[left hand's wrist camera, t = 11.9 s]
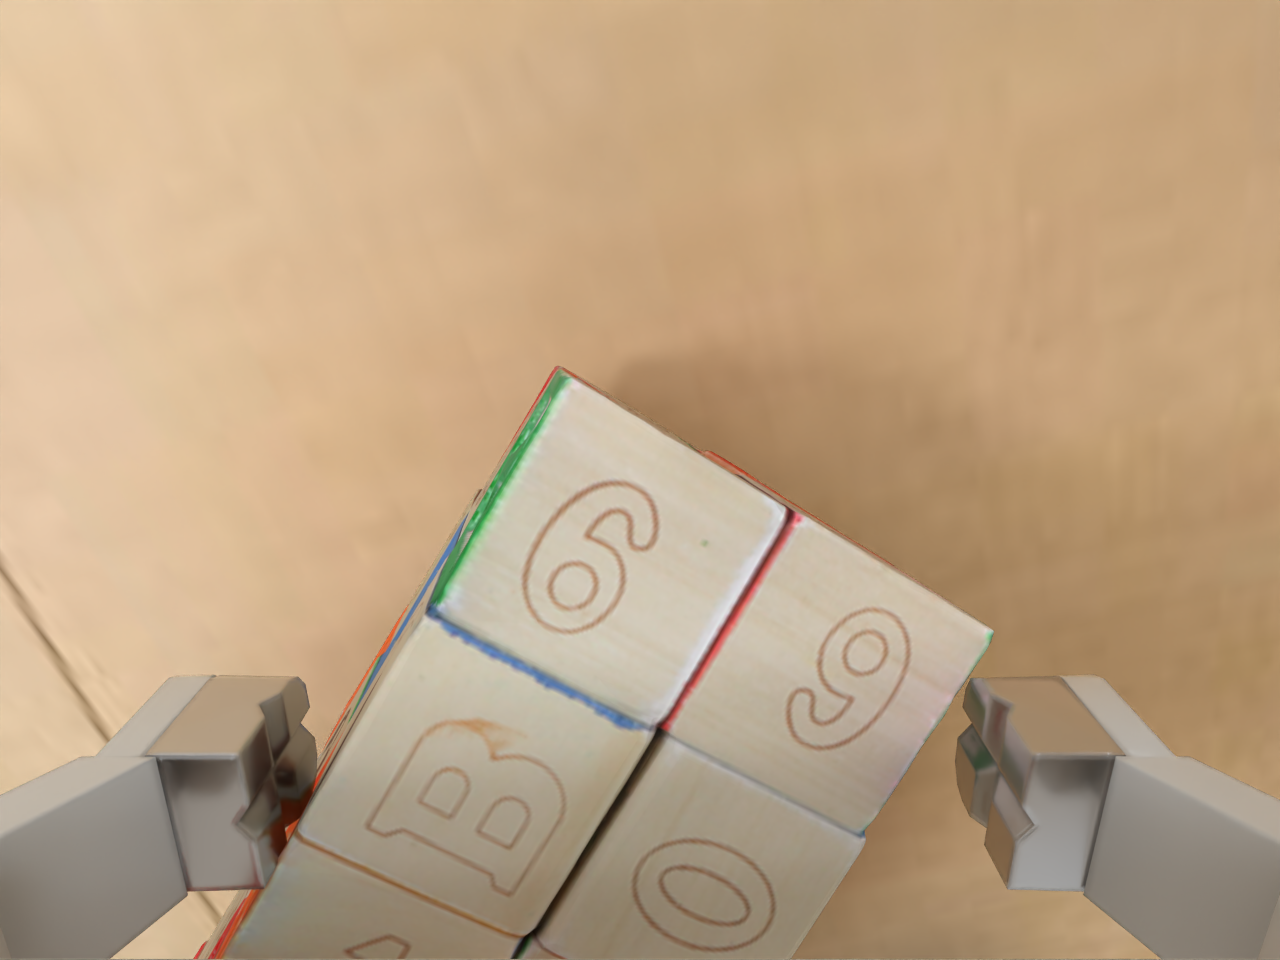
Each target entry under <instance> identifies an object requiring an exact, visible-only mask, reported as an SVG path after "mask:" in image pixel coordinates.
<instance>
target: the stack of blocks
mask: <svg viewBox="0 0 1280 960" xmlns="http://www.w3.org/2000/svg"><path fill="white" fill-rule="evenodd" d="M993 633H994V631H993V630H992V629H991V628H989V627H988V626H986V625H985V624H984V623H982V622H981V621H979V620H977V619H976V618H974V617H973V616H971V615H970V614H968V613H966V612H965V611H963V610H962V609H960V608H958V607H957V606H955V605H954V604H952V603H951V602H949V601H947V600H946V599H944V598H943V597H941V596H940V595H938V594H936V593H935V592H933V591H932V590H930V589H928V588H927V587H925V586H924V585H922V584H921V583H919V582H918V581H916V580H915V579H913V578H912V577H910V576H909V575H907V574H905V573H904V572H902V571H900V570H899V569H897V568H896V567H894V565H892V564H891V563H889V562H887V561H886V560H884V559H882V558H881V557H879V556H878V555H876V554H874V553H873V552H871V551H869V550H868V549H866V548H865V547H863V546H861V545H860V544H858V543H856V542H855V541H853V540H851V539H850V538H848V537H846V536H845V535H843V534H841V533H840V532H838V531H837V530H835V529H834V528H832V527H831V526H829V525H828V524H826V523H824V522H823V521H821V520H820V519H818V518H816V517H815V516H813V515H812V514H810V513H808V512H807V511H805V510H803V509H802V508H800V507H799V506H797V505H795V504H794V503H792V502H790V501H789V500H787V499H786V498H784V497H783V496H781V495H780V494H778V493H777V492H775V491H774V490H772V489H770V488H769V487H767V486H765V485H764V484H762V483H761V482H759V481H758V480H756V479H755V478H754V477H752V476H751V475H749V474H748V473H746V472H745V471H743V470H742V469H740V468H738V467H737V466H735V465H733V464H732V463H730V462H729V461H727V460H725V459H724V458H722V457H720V456H718V455H717V454H715V453H713V452H711V451H705V452H704V451H702V450H700V449H698V448H696V447H694V446H692V445H690V444H689V443H687V442H685V441H683V440H682V439H680V438H679V437H677V436H676V435H674V434H673V433H671V432H670V431H668V430H667V429H665V428H664V427H662V426H661V425H659V424H657V423H656V422H654V421H652V420H651V419H649V418H647V417H646V416H644V415H643V414H641V413H639V412H638V411H636V410H634V409H633V408H631V407H629V406H628V405H626V404H624V403H623V402H621V401H620V400H618V399H616V398H615V397H613V396H611V395H610V394H608V393H606V392H604V391H603V390H601V389H599V388H598V387H596V386H594V385H592V384H591V383H589V382H587V381H586V380H584V379H582V378H580V377H579V376H577V375H575V374H574V373H572V372H570V371H568V370H567V369H565V368H563V367H560V366H556V367H555V368H554V370H553V371H552V373H551V374H550V376H549V378H548V379H547V381H546V383H545V385H544V386H543V388H542V390H541V392H540V393H539V395H538V397H537V399H536V400H535V402H534V404H533V405H532V407H531V409H530V411H529V412H528V414H527V416H526V417H525V419H524V421H523V422H522V424H521V426H520V427H519V429H518V431H517V432H516V434H515V436H514V438H513V439H512V441H511V443H510V445H509V446H508V448H507V449H506V451H505V453H504V454H503V456H502V458H501V459H500V461H499V463H498V465H497V466H496V468H495V470H494V471H493V473H492V474H491V476H490V478H489V479H488V481H487V482H486V484H485V486H484V487H483V489H480V490H477V491H476V493H475V495H474V496H473V498H472V500H471V501H470V503H469V504H468V506H467V508H466V509H465V511H464V513H463V514H462V516H461V518H460V519H459V521H458V523H457V524H456V526H455V528H454V529H453V531H452V533H451V534H450V536H449V538H448V539H447V541H446V543H445V544H444V546H443V548H442V549H441V551H440V553H439V554H438V556H437V558H436V559H435V561H434V563H433V564H432V566H431V568H430V569H429V571H428V573H427V574H426V576H425V577H424V579H423V581H422V582H421V584H420V586H419V587H418V589H417V591H416V592H415V594H414V596H413V598H412V600H411V602H410V604H409V605H408V606H407V607H406V609H405V610H404V612H403V613H402V615H401V616H400V618H399V620H398V621H397V623H396V624H395V626H394V628H393V629H392V631H391V633H390V634H389V636H388V638H387V639H386V641H385V643H384V644H383V646H382V648H381V649H380V651H379V653H378V654H377V656H376V658H375V659H374V661H373V663H372V664H371V666H370V667H369V669H368V671H367V672H366V674H365V676H364V677H363V679H362V681H361V682H360V684H359V686H358V687H357V689H356V691H355V692H354V694H353V696H352V697H351V699H350V700H349V702H348V703H347V705H346V707H345V709H344V710H343V712H342V714H341V716H340V718H339V720H338V722H337V724H336V726H335V728H334V730H333V732H332V733H331V735H330V737H329V739H328V741H327V743H326V745H325V747H324V749H323V751H322V753H321V754H320V756H319V758H318V759H317V776H316V780H315V785H314V789H313V793H312V795H311V797H310V799H309V801H308V803H307V805H306V807H305V809H304V811H303V813H302V815H301V817H300V818H299V819H298V820H297V821H295V822H294V823H292V824H291V825H289V826H288V827H286V828H285V832H286V837H287V844H286V845H285V847H284V849H283V851H282V852H281V854H280V856H279V857H278V864H277V866H276V868H275V870H274V871H273V873H272V875H271V877H270V879H269V881H268V883H267V885H266V887H265V888H264V889H254V890H239V891H238V892H237V894H236V895H235V897H234V899H233V900H232V902H231V904H230V905H229V907H228V909H227V910H226V912H225V914H224V915H223V917H222V919H221V920H220V922H219V923H218V925H217V927H216V928H215V930H214V932H213V933H212V935H211V937H210V939H209V940H208V941H206V942H205V943H204V944H203V945H202V946H201V948H200V949H199V951H198V953H197V954H196V956H195V957H194V959H791V958H792V956H793V955H794V953H795V952H796V950H797V949H798V947H799V946H800V944H801V943H802V941H803V940H804V938H805V937H806V935H807V934H808V932H809V930H810V929H811V927H812V926H813V924H814V923H815V921H816V920H817V918H818V917H819V915H820V914H821V912H822V911H823V909H824V907H825V906H826V904H827V903H828V901H829V900H830V898H831V897H832V895H833V894H834V892H835V891H836V889H837V888H838V886H839V884H840V883H841V881H842V880H843V878H844V877H845V875H846V874H847V872H848V871H849V869H850V868H851V866H852V865H853V863H854V861H855V860H856V858H857V857H858V855H859V854H860V852H861V850H862V848H863V847H864V845H865V842H866V837H865V832H864V830H865V829H866V828H867V827H868V826H869V825H870V824H871V822H872V821H873V820H874V819H875V818H876V816H877V815H878V813H879V812H880V810H881V809H882V808H883V806H884V805H885V803H886V802H887V800H888V799H889V797H890V796H891V794H892V793H893V791H894V790H895V788H896V787H897V785H898V784H899V782H900V781H901V779H902V778H903V776H904V775H905V773H906V772H907V770H908V769H909V767H910V765H911V764H912V762H913V760H914V759H915V757H916V755H917V754H918V752H919V750H920V749H921V747H922V746H923V745H924V743H925V742H926V740H927V739H928V737H929V736H930V735H931V733H932V732H933V730H934V729H935V728H936V726H937V725H938V724H939V722H940V721H941V720H942V718H943V717H944V715H945V713H946V712H947V710H948V708H949V706H950V704H951V702H952V700H953V698H954V696H955V695H956V694H957V692H958V691H959V690H960V689H961V687H962V686H963V684H964V683H965V681H966V680H967V678H968V677H969V675H970V674H971V672H972V671H973V669H974V668H975V666H976V665H977V663H978V662H979V660H980V659H981V657H982V656H983V654H984V653H985V651H986V650H987V648H988V646H989V644H990V642H991V640H992V636H993Z"/></svg>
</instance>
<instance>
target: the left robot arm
mask: <svg viewBox="0 0 1280 960" xmlns="http://www.w3.org/2000/svg"><path fill="white" fill-rule="evenodd" d="M309 708H310V705H309V700H308V695H307V690H306V685H305V683H304V682H303V681H302V680H301V679H300V678H299V677H283V676H234V675H219V676H216V675H179V676H175V677H171V678H168V679H167V680H166V681H165V682H164V684H163V685H162V686H161V687H160V688H159V689H158V690H157V691H156V692H155V693H154V694H153V695H152V696H151V697H150V698H149V699H148V701H147V702H146V703H145V704H144V705H143V706H142V707H141V708H140V709H139V710H138V711H137V712H136V713H135V714H134V715H133V717H132V718H131V719H130V720H129V721H128V722H127V723H126V724H125V725H124V726H123V727H122V728H121V729H120V730H119V731H118V732H117V734H116V735H115V736H114V737H113V738H112V739H111V740H110V741H109V742H108V743H107V744H106V745H105V746H104V747H103V748H102V750H101V751H100V752H99V753H98V754H97V755H96V756H95V757H79V758H77V759H75V760H73V761H71V762H69V763H67V764H65V765H63V766H61V767H58V768H56V769H54V770H52V771H50V772H48V773H46V774H44V775H42V776H39V777H37V778H35V779H33V780H31V781H29V782H27V783H25V784H23V785H21V786H18V787H16V788H14V789H12V790H10V791H8V792H6V793H4V794H2V795H0V960H1280V800H1279V799H1277V798H1275V797H1272V796H1270V795H1268V794H1266V793H1264V792H1262V791H1260V790H1258V789H1256V788H1254V787H1252V786H1250V785H1247V784H1245V783H1243V782H1241V781H1239V780H1237V779H1235V778H1233V777H1231V776H1229V775H1227V774H1225V773H1222V772H1220V771H1218V770H1216V769H1214V768H1212V767H1210V766H1208V765H1206V764H1204V763H1202V762H1200V761H1198V760H1195V759H1193V758H1191V757H1176V756H1175V755H1174V754H1173V753H1172V752H1171V751H1170V750H1169V749H1168V747H1167V746H1166V745H1165V744H1164V743H1163V742H1162V741H1161V740H1160V739H1159V738H1158V737H1157V736H1156V734H1155V733H1154V732H1153V731H1152V730H1151V729H1150V728H1149V727H1148V726H1147V725H1146V724H1145V723H1144V721H1143V720H1142V719H1141V718H1140V717H1139V716H1138V715H1137V714H1136V713H1135V712H1134V711H1133V710H1132V708H1131V707H1130V706H1129V705H1128V704H1127V703H1126V702H1125V701H1124V700H1123V699H1122V698H1121V696H1120V695H1119V694H1118V693H1117V692H1116V691H1115V690H1114V689H1113V688H1112V687H1111V686H1110V685H1109V683H1108V682H1107V681H1106V680H1105V679H1103V678H1101V677H1099V676H1096V675H1094V674H1091V675H1063V676H1045V677H1000V678H971V679H970V681H969V683H968V685H967V687H966V690H965V696H964V702H963V709H964V710H965V712H966V714H967V716H968V717H969V719H970V721H971V722H972V724H971V725H970V726H969V727H968V728H967V729H966V730H965V731H964V732H963V733H962V734H961V735H960V736H959V737H958V741H957V749H956V758H955V765H956V776H957V785H958V788H959V792H960V795H961V798H962V801H963V803H964V806H965V808H966V810H967V812H968V814H969V816H970V817H971V818H973V819H974V820H976V821H977V822H979V823H980V824H981V825H983V826H984V827H986V828H987V831H986V837H985V843H984V845H985V847H986V849H987V851H988V853H989V855H990V857H991V859H992V861H993V862H994V864H995V866H996V868H997V870H998V872H999V874H1000V876H1001V878H1002V880H1003V882H1004V884H1005V886H1006V887H1007V889H1015V890H1051V891H1084V894H1083V895H1084V896H1085V897H1087V898H1088V899H1089V900H1090V901H1091V902H1093V903H1094V904H1095V905H1096V906H1097V907H1099V908H1100V909H1101V910H1102V911H1104V912H1105V913H1106V914H1107V915H1108V916H1110V917H1111V918H1112V919H1113V920H1115V921H1116V922H1117V923H1118V924H1119V925H1121V926H1122V927H1123V928H1124V929H1125V930H1127V931H1128V932H1129V933H1130V934H1132V935H1133V936H1134V937H1135V938H1136V939H1138V940H1139V941H1140V942H1141V943H1143V944H1144V945H1145V946H1146V947H1147V948H1149V949H1150V950H1151V951H1152V952H1154V953H1155V954H1156V955H1157V956H1158V957H1160V958H1161V959H110V958H111V957H113V956H114V955H115V954H116V953H117V952H119V951H120V950H121V949H122V948H124V947H125V946H126V945H127V944H129V943H130V942H131V941H132V940H134V939H135V938H136V937H137V936H138V935H140V934H141V933H142V932H143V931H145V930H146V929H147V928H148V927H150V926H151V925H152V924H153V923H154V922H156V921H157V920H158V919H159V918H161V917H162V916H163V915H164V914H166V913H167V912H168V911H169V910H170V909H172V908H173V907H174V906H175V905H177V904H178V903H179V902H180V901H182V900H183V899H184V898H185V897H186V896H187V895H188V893H187V891H219V890H254V889H264V888H265V887H266V885H267V883H268V881H269V879H270V877H271V875H272V873H273V871H274V870H275V868H276V866H277V864H278V857H279V856H280V854H281V852H282V851H283V849H284V847H285V845H286V844H287V837H286V832H285V828H286V827H288V826H289V825H291V824H292V823H294V822H295V821H297V820H298V819H299V818H300V817H301V815H302V813H303V811H304V809H305V807H306V805H307V803H308V801H309V799H310V797H311V795H312V793H313V789H314V785H315V780H316V776H317V750H316V743H315V738H314V737H313V736H312V735H311V734H310V732H309V731H308V730H307V729H306V728H305V727H304V726H303V725H302V724H301V721H302V719H303V718H304V716H305V714H306V713H307V711H308V709H309Z"/></svg>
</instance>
